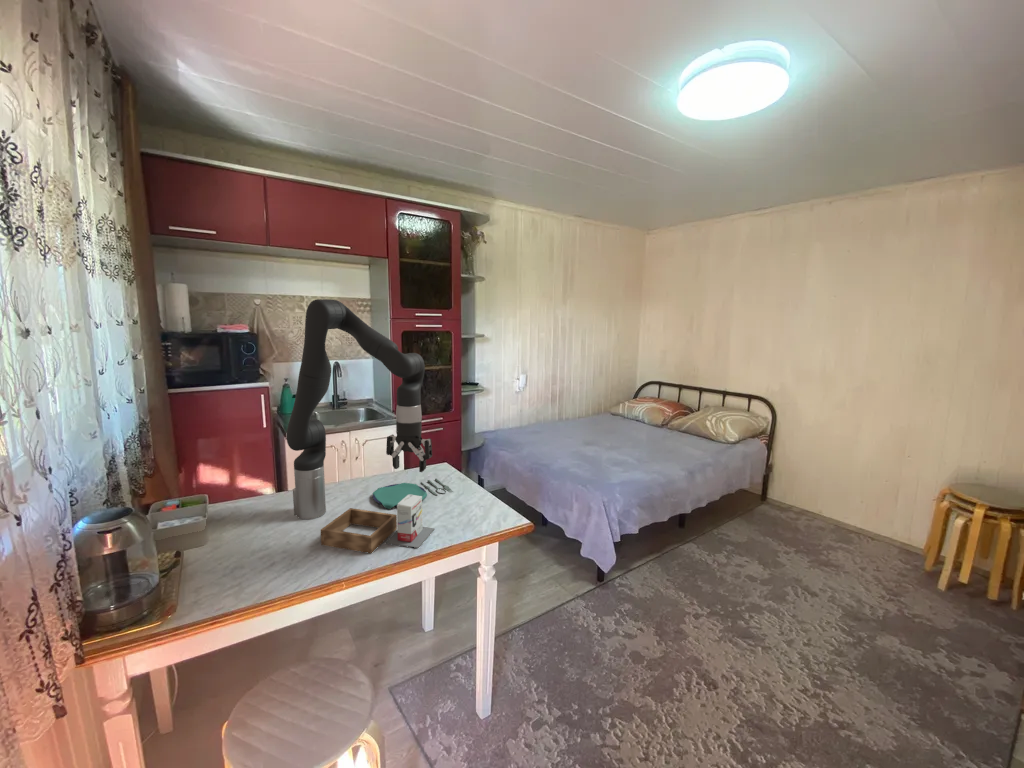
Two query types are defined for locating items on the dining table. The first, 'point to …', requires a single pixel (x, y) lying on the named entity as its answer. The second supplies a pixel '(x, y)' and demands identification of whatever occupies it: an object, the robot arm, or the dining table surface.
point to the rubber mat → (416, 542)
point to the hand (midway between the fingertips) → (409, 469)
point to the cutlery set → (402, 493)
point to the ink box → (409, 518)
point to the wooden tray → (353, 541)
